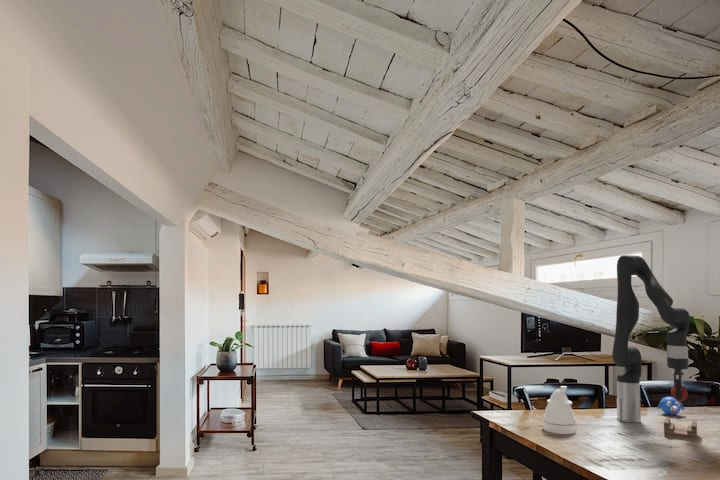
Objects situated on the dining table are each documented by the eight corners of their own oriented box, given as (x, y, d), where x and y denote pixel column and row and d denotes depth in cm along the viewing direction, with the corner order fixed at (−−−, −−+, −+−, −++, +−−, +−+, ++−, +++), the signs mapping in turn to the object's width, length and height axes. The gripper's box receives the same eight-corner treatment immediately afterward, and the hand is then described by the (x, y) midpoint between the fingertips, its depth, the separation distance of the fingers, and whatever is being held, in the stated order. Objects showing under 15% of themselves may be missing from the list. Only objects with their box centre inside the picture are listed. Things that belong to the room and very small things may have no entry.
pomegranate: (685, 401, 219) (685, 381, 220) (689, 404, 214) (688, 383, 214) (669, 400, 221) (669, 380, 222) (673, 402, 215) (672, 382, 216)
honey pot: (576, 428, 225) (576, 385, 226) (575, 435, 213) (574, 389, 215) (545, 424, 230) (544, 382, 232) (541, 431, 218) (541, 387, 220)
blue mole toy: (663, 417, 248) (662, 399, 249) (654, 412, 260) (653, 394, 261) (691, 419, 246) (690, 400, 247) (680, 413, 258) (679, 395, 259)
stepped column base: (696, 441, 208) (695, 426, 208) (664, 436, 214) (663, 422, 214) (697, 434, 218) (696, 421, 218) (666, 430, 224) (665, 417, 224)
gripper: (668, 354, 227) (669, 394, 225) (665, 357, 215) (667, 399, 213) (688, 355, 223) (690, 396, 221) (687, 359, 211) (689, 402, 209)
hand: (679, 398), depth 217 cm, fingers closed on pomegranate, 6 cm apart
